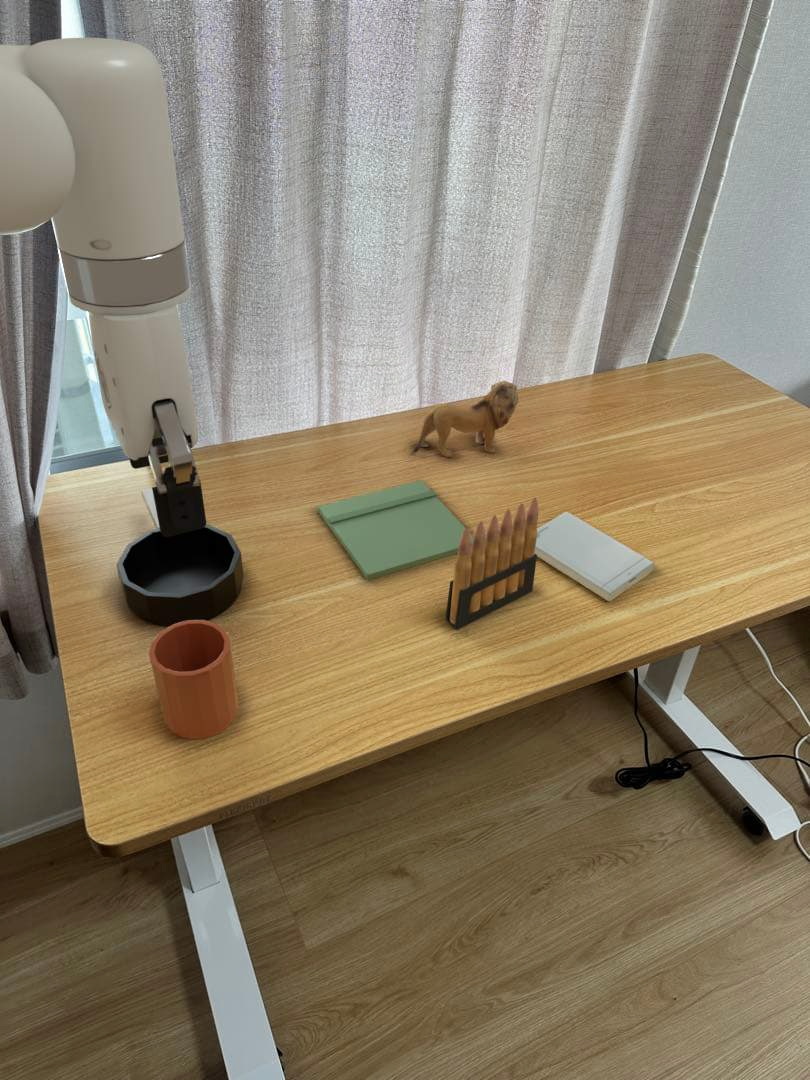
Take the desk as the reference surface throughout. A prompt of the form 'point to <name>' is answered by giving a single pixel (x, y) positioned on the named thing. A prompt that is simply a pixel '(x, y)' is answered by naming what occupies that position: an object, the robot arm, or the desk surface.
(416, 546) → the notepad
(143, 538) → the pan
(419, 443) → the lion figurine
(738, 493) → the desk surface
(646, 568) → the hard drive
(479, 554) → the ammunition clip
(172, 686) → the cup
